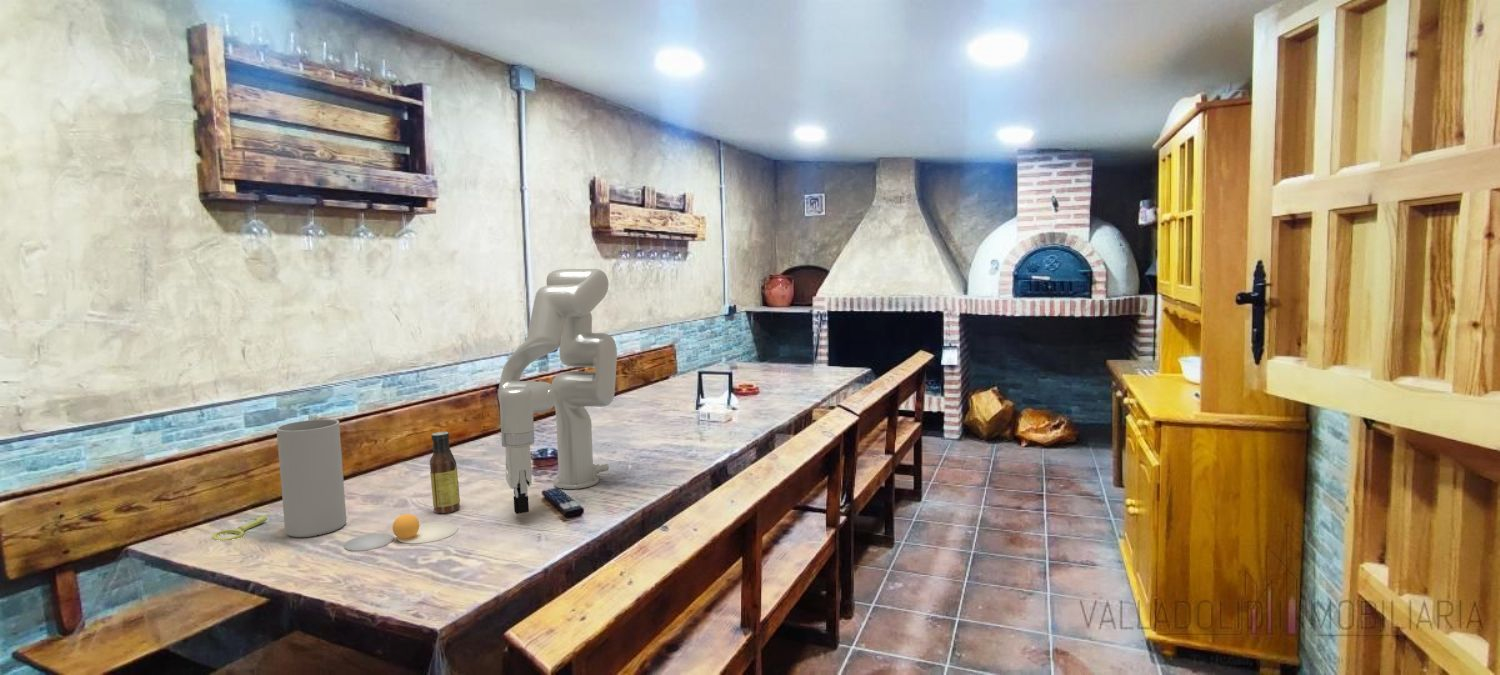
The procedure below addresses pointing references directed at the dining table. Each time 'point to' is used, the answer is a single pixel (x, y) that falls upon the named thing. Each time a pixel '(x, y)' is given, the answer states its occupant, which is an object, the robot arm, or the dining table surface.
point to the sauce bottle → (444, 475)
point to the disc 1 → (368, 542)
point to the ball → (405, 526)
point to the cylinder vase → (311, 477)
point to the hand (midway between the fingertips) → (521, 511)
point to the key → (239, 529)
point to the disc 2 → (431, 532)
